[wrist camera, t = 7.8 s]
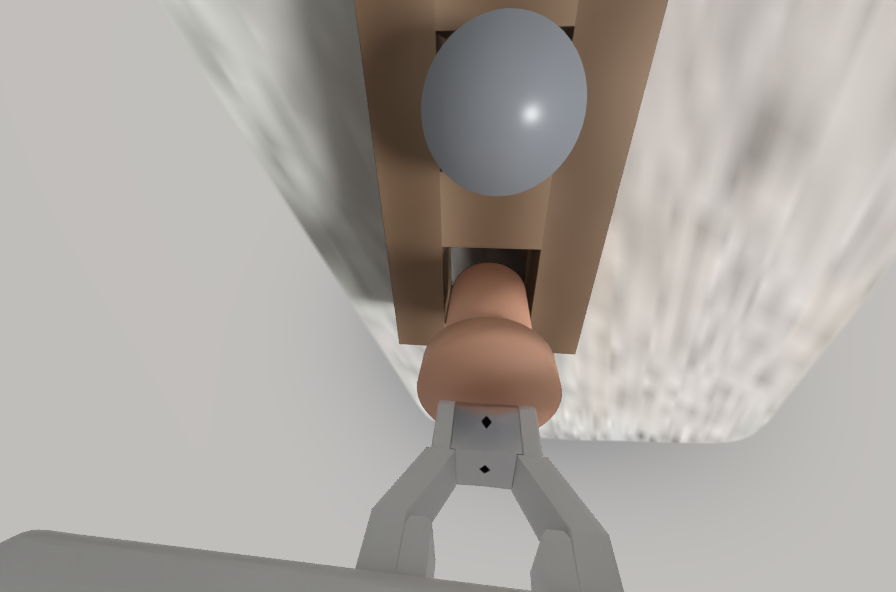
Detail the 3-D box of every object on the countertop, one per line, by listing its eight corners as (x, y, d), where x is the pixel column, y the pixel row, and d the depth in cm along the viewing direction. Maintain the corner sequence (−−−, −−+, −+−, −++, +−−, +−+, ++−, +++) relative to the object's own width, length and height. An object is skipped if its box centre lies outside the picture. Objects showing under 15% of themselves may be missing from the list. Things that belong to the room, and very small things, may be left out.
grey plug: (561, 33, 13) (605, 3, 8) (544, 159, 16) (570, 197, 11) (443, 37, 14) (415, 12, 9) (445, 159, 16) (425, 195, 11)
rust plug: (545, 252, 15) (575, 345, 9) (532, 335, 17) (549, 443, 12) (438, 249, 15) (411, 336, 10) (441, 330, 18) (421, 432, 13)
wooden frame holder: (632, -19, 13) (682, -53, 10) (562, 312, 22) (575, 354, 18) (383, -7, 14) (349, -35, 11) (412, 305, 23) (399, 343, 19)
